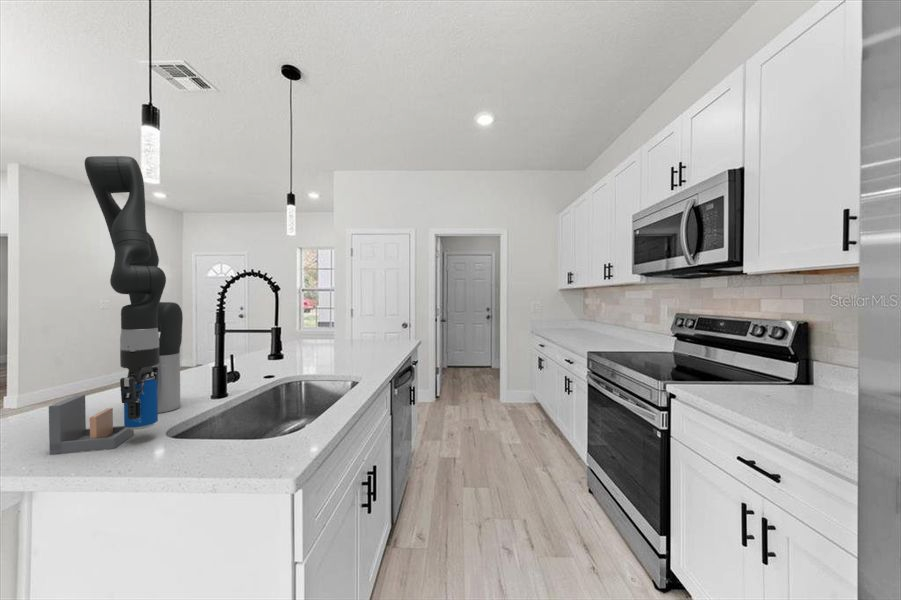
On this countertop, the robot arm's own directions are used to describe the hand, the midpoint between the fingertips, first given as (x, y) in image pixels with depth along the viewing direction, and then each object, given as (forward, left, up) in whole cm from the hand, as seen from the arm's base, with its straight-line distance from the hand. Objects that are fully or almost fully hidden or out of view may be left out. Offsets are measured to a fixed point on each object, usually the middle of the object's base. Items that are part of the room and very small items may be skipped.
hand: (141, 413), depth 95 cm
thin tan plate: (0, -8, -5) cm, 10 cm away
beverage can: (0, 0, -3) cm, 3 cm away
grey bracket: (0, -10, -6) cm, 11 cm away
